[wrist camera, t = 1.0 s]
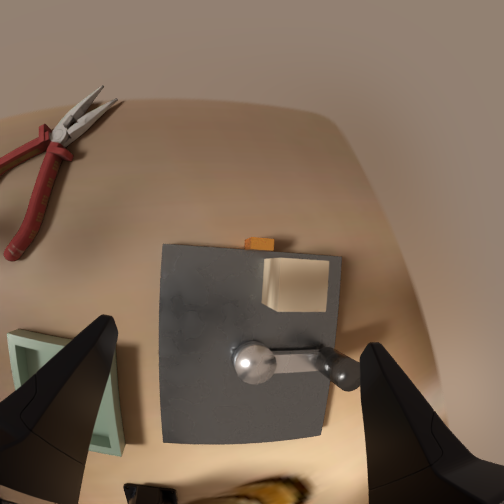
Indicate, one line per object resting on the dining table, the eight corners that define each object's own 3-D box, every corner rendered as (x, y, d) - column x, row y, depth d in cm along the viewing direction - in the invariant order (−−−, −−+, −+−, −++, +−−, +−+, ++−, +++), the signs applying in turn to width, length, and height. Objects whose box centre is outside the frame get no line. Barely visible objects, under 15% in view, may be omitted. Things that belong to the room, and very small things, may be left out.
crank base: (315, 429, 28) (326, 441, 25) (163, 435, 25) (162, 450, 22) (335, 247, 29) (349, 245, 26) (165, 233, 26) (161, 230, 23)
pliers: (143, 125, 26) (139, 114, 24) (19, 267, 23) (6, 266, 20) (87, 75, 25) (82, 63, 22) (-23, 199, 22) (-35, 195, 19)
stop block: (302, 303, 27) (325, 311, 22) (261, 303, 26) (277, 311, 21) (305, 261, 27) (329, 260, 22) (264, 258, 26) (280, 257, 21)
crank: (231, 377, 25) (243, 406, 19) (233, 340, 25) (246, 362, 19) (331, 372, 27) (361, 394, 21) (335, 338, 27) (368, 355, 21)
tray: (125, 444, 24) (121, 456, 21) (34, 423, 22) (26, 432, 19) (115, 345, 25) (109, 353, 22) (18, 328, 22) (7, 333, 20)
